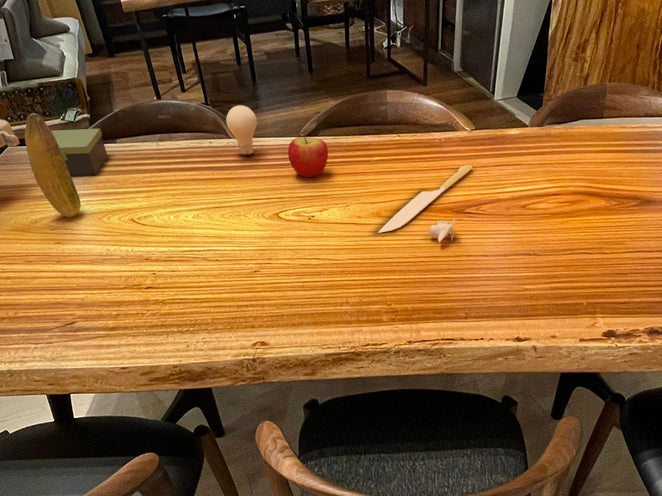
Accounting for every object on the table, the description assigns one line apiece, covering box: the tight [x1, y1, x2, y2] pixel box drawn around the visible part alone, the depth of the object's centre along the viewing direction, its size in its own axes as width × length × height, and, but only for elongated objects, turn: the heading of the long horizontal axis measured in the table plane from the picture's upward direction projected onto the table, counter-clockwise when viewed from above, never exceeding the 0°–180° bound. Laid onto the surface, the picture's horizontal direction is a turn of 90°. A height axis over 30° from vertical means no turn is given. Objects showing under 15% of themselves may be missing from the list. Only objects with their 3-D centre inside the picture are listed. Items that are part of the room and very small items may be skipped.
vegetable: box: [24, 112, 82, 218], centre depth 118 cm, size 6×6×20 cm
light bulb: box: [225, 104, 258, 156], centre depth 140 cm, size 7×7×11 cm
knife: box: [377, 164, 473, 234], centre depth 125 cm, size 1×34×5 cm
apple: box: [287, 129, 329, 178], centre depth 132 cm, size 8×8×10 cm
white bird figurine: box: [428, 217, 457, 243], centre depth 112 cm, size 8×5×5 cm, turn 177°
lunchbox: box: [51, 128, 109, 177], centre depth 140 cm, size 12×11×6 cm
